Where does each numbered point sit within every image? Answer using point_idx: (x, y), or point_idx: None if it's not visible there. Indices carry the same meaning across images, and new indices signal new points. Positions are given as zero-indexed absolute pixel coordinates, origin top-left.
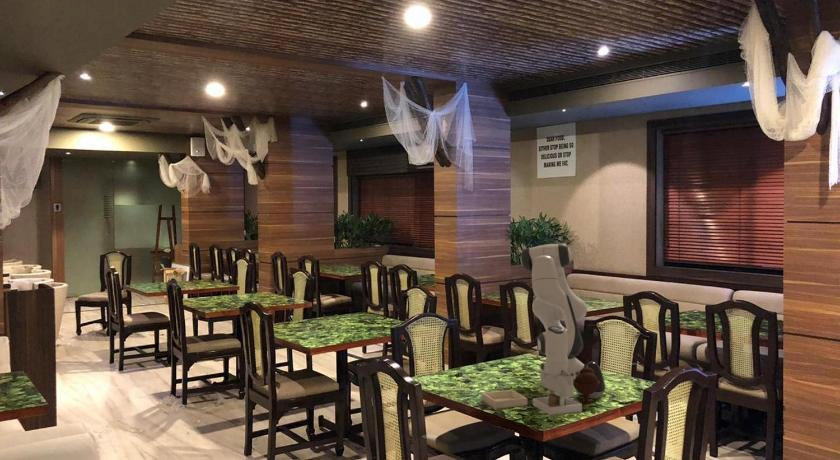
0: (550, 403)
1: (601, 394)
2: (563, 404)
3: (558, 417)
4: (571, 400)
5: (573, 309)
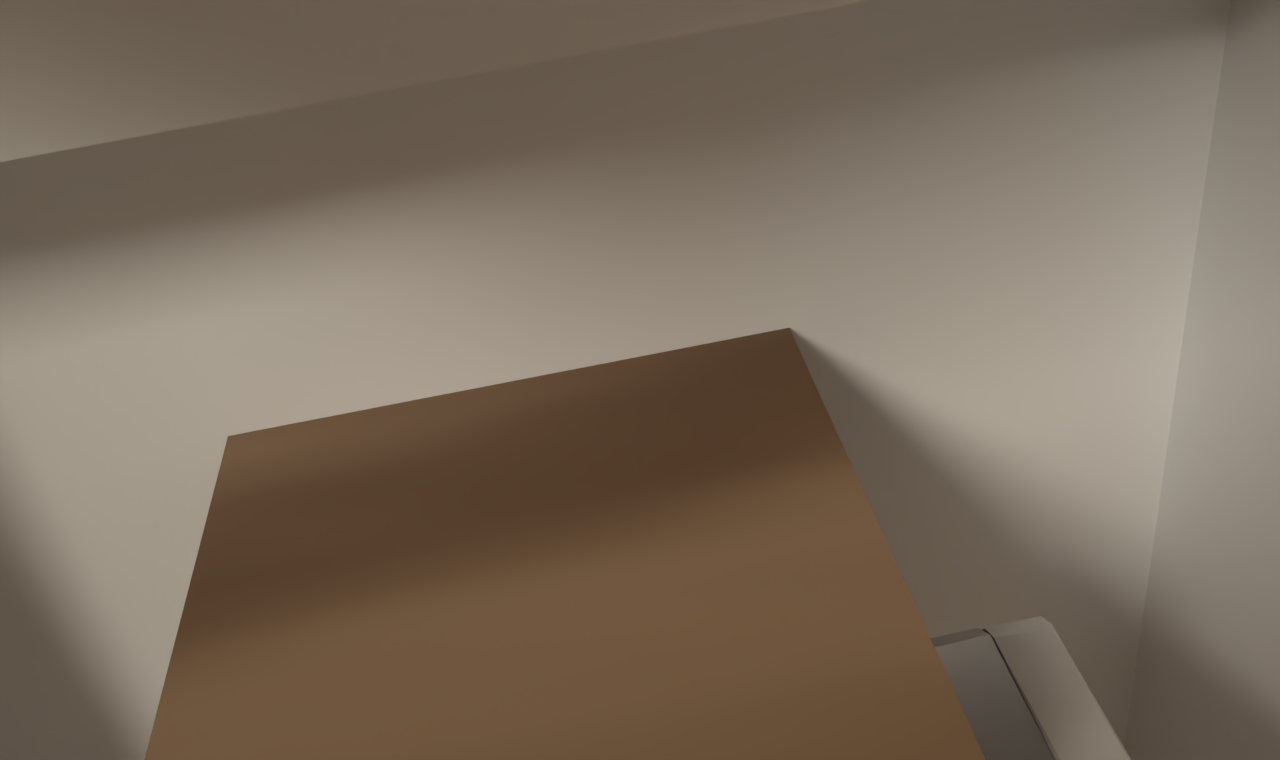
0: None
1: None
2: (1048, 647)
3: None
4: (480, 66)
5: None
